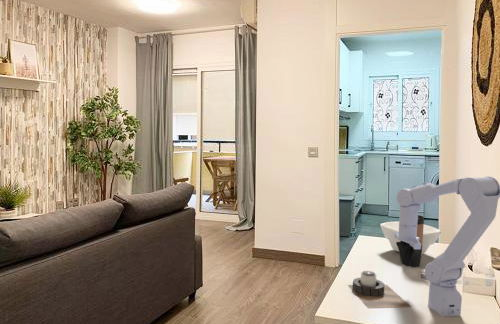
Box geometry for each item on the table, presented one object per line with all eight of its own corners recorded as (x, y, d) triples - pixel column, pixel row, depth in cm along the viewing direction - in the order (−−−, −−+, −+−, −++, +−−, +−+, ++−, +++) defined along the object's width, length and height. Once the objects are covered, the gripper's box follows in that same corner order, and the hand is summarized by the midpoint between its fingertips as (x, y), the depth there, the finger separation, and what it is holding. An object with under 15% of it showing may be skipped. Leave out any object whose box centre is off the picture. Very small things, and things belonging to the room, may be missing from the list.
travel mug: (422, 263, 173) (425, 216, 171) (419, 268, 166) (422, 219, 164) (402, 260, 177) (406, 213, 175) (399, 265, 170) (402, 216, 168)
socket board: (411, 310, 128) (412, 299, 128) (367, 311, 127) (368, 300, 126) (385, 286, 146) (386, 277, 146) (347, 287, 145) (347, 277, 145)
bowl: (372, 247, 194) (373, 222, 193) (409, 243, 203) (410, 220, 202) (407, 262, 174) (408, 235, 173) (446, 257, 182) (448, 231, 181)
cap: (376, 293, 138) (377, 276, 137) (360, 292, 138) (361, 274, 138) (374, 288, 142) (375, 271, 142) (359, 286, 143) (360, 269, 143)
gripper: (431, 230, 133) (428, 271, 134) (408, 219, 147) (406, 257, 149) (409, 229, 132) (407, 271, 133) (389, 219, 147) (387, 257, 148)
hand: (405, 264), depth 141 cm, fingers closed
